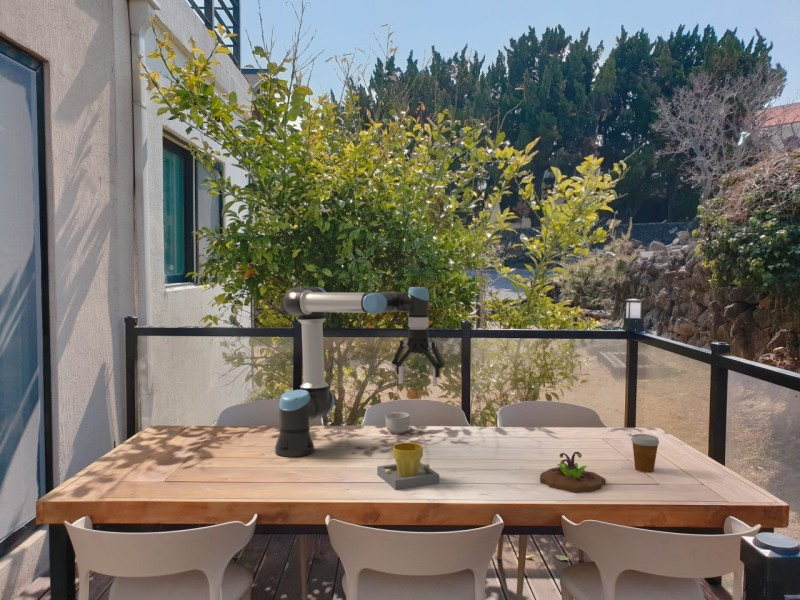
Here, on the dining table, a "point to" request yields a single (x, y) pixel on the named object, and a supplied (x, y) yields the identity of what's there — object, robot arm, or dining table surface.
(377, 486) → the dining table surface
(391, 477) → the base
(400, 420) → the teacup
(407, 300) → the robot arm
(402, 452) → the plant pot
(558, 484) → the plant
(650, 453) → the disposable coffee cup
